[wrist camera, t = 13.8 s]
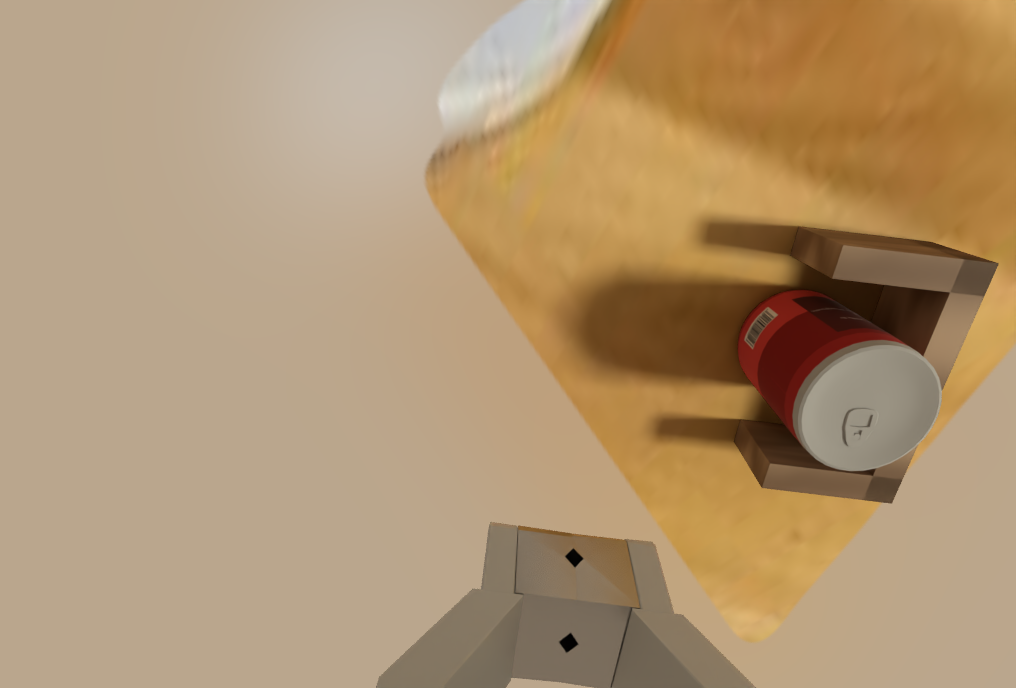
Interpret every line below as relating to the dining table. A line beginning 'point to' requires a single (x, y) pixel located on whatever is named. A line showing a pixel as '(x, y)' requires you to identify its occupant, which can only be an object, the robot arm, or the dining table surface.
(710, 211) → the dining table surface
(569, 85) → the dining table surface
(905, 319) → the corral
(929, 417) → the canned food
